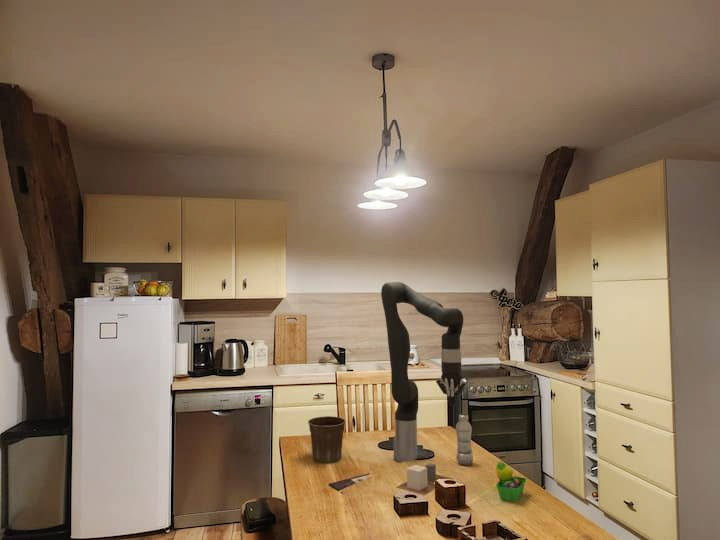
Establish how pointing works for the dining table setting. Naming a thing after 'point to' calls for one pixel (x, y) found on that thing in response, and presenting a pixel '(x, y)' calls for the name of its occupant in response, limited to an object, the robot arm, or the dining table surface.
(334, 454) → the plant pot
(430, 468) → the charcoal post
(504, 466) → the fruit basket
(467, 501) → the dining table surface
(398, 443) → the robot arm
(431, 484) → the stand board
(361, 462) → the dining table surface
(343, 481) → the chocolate bar
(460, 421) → the plastic bottle
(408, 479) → the cream block
